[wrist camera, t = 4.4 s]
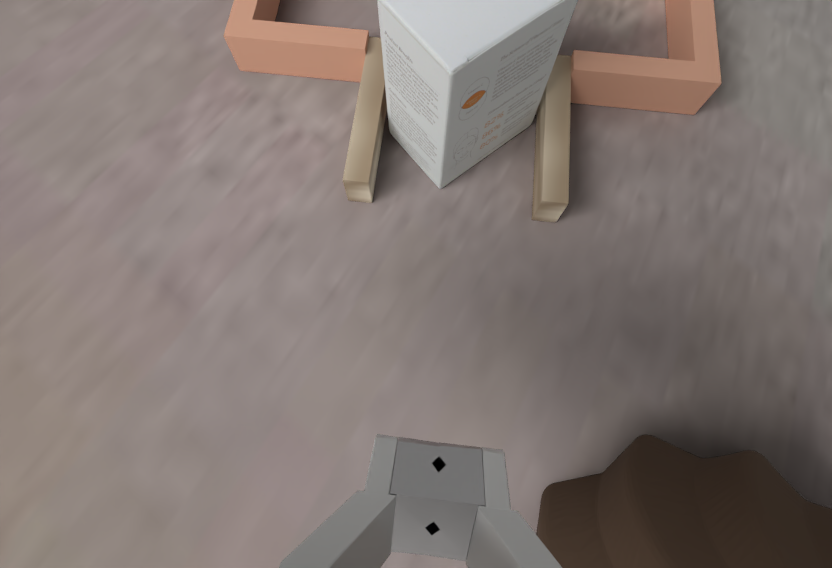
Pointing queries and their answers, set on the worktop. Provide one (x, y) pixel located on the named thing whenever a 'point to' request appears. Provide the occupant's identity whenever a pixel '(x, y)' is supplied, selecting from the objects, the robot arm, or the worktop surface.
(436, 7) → the small box
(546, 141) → the trap lane
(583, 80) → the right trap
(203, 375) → the worktop surface
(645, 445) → the decorative dome
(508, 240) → the worktop surface
